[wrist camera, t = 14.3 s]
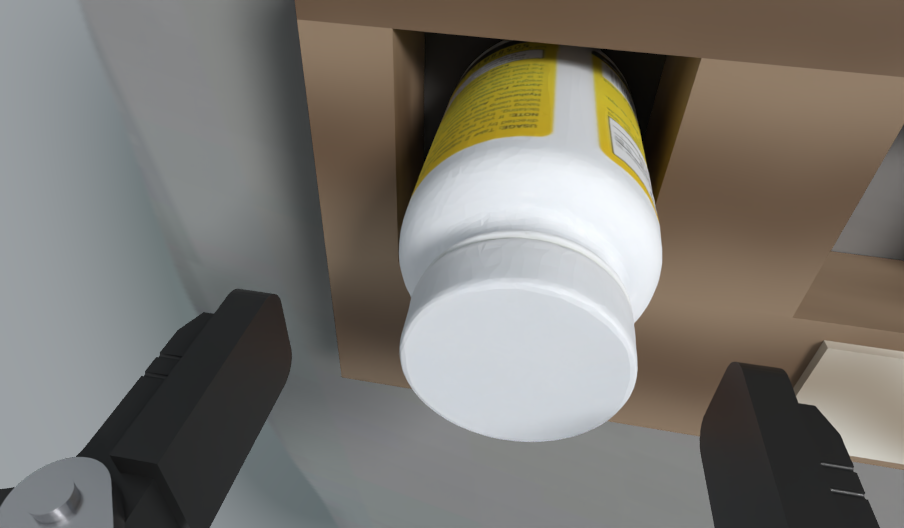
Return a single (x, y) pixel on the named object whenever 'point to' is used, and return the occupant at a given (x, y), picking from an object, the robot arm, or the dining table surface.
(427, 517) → the dining table surface
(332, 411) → the dining table surface
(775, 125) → the socket board
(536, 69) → the supplement bottle
